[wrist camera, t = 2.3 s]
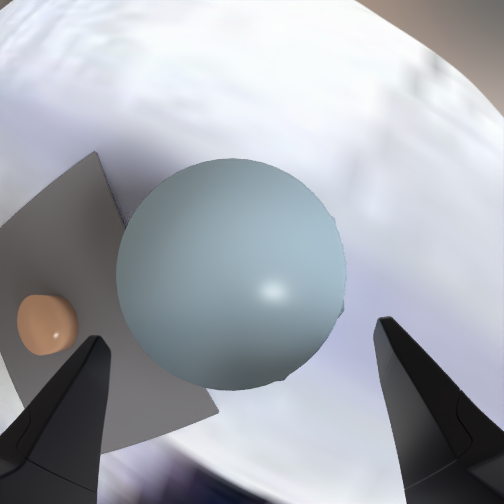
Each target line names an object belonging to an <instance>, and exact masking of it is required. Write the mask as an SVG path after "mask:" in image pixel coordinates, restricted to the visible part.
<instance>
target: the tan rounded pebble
mask: <svg viewBox="0 0 504 504" xmlns="http://www.w3.org/2000/svg"><path fill="white" fill-rule="evenodd" d="M17 326H18V331H19V335H20V338H21V340H22V342H23V343H24V345H25V346H26V348H27V349H28V350H29V351H31V352H32V353H34V354H36V355H46V354H51V353H55V352H60V351H64V350H67V349H69V348H71V347H72V346H73V344H74V343H75V341H76V339H77V336H78V329H79V325H78V318H77V314H76V312H75V310H74V308H73V306H72V305H71V303H70V302H69V301H68V300H67V299H65V298H64V297H61V296H56V295H30V296H28V297H26V298H25V299H24V300H23V302H22V303H21V305H20V307H19V310H18V316H17Z"/></svg>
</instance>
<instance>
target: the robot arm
mask: <svg viewBox="0 0 504 504" xmlns="http://www.w3.org/2000/svg"><path fill="white" fill-rule="evenodd" d="M373 340H374V346H375V352H376V358H377V365H378V371H379V378H380V383H381V387H382V391H383V395H384V399H385V403H386V407H387V411H388V415H389V419H390V423H391V428H392V432H393V436H394V441H395V445H396V450H397V454H398V459H399V464H400V469H401V474H402V479H403V485H404V489H405V490H404V491H405V497H406V502H407V504H504V431H503V430H502V429H500V428H499V427H498V426H497V425H496V424H495V423H494V422H493V421H492V420H490V419H489V418H488V417H487V416H486V415H485V414H484V413H483V412H482V411H481V410H480V409H479V408H478V407H477V406H476V405H475V404H474V403H473V402H472V401H471V400H470V399H469V398H468V397H467V396H466V395H465V393H464V392H463V391H462V390H460V388H459V387H458V386H457V385H456V384H455V383H454V381H453V380H452V379H451V378H450V377H449V376H448V375H447V374H446V373H445V372H444V371H443V370H442V369H441V367H440V366H439V365H438V364H437V363H436V362H435V361H434V360H433V359H432V358H431V357H430V356H429V355H428V354H427V353H426V352H425V351H424V349H423V348H422V347H421V346H420V345H419V344H418V343H417V342H416V341H415V340H414V339H413V338H412V337H411V336H410V335H409V334H408V333H407V332H406V331H405V330H404V329H403V328H402V327H401V326H400V325H399V324H398V323H397V322H396V321H395V320H394V319H393V318H392V317H390V316H387V317H380V318H379V319H378V320H377V323H376V327H375V330H374V334H373ZM110 368H111V350H110V348H109V346H108V345H107V344H106V342H105V341H104V339H103V338H102V337H101V336H100V335H90V336H89V337H87V339H86V340H85V341H84V342H83V343H82V344H81V345H80V346H79V347H78V348H77V349H76V351H75V352H74V353H73V354H72V355H71V356H70V357H69V358H68V359H67V361H66V362H65V363H64V364H63V365H62V366H61V367H60V368H59V370H58V371H57V372H56V373H55V374H54V375H53V376H52V378H51V379H50V380H49V381H48V382H47V383H46V385H45V386H44V387H43V388H42V389H41V390H40V392H39V393H38V394H37V395H36V396H35V397H34V399H33V400H32V401H31V402H30V404H28V406H27V407H26V408H25V409H24V410H23V412H22V413H21V414H20V415H19V416H18V417H17V419H16V420H15V421H14V422H13V423H12V424H11V425H10V426H9V427H8V428H7V429H6V430H5V431H4V432H3V433H2V434H1V435H0V504H97V487H98V474H99V463H100V453H101V445H102V436H103V429H104V421H105V414H106V408H107V401H108V394H109V382H110Z"/></svg>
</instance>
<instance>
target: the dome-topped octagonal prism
mask: <svg viewBox="0 0 504 504" xmlns="http://www.w3.org/2000/svg"><path fill="white" fill-rule="evenodd" d="M116 284H117V293H118V298H119V303H120V307H121V310H122V313H123V316H124V318H125V321H126V323H127V325H128V327H129V329H130V331H131V333H132V335H133V336H134V338H135V339H136V341H137V342H138V344H139V345H140V346H141V348H142V349H143V350H144V351H145V352H146V353H147V354H148V356H149V357H150V358H151V359H152V360H154V361H155V362H156V363H157V364H158V365H159V366H161V367H162V368H163V369H165V370H166V371H168V372H169V373H171V374H172V375H174V376H176V377H178V378H180V379H182V380H184V381H186V382H188V383H191V384H194V385H197V386H201V387H204V388H210V389H216V390H232V391H236V390H245V389H252V388H256V387H260V386H264V385H267V384H270V383H272V382H275V381H283V380H285V379H286V377H287V376H288V375H289V374H291V373H292V372H294V371H295V370H297V369H298V368H299V367H301V366H302V365H303V364H305V363H306V362H307V361H308V360H309V359H310V358H311V357H312V356H313V355H314V354H315V353H316V352H317V351H318V350H319V348H320V347H321V346H322V345H323V343H324V342H325V341H326V339H327V338H328V336H329V334H330V332H331V331H332V329H333V327H334V325H335V323H336V321H337V319H338V318H339V316H340V315H341V314H342V313H343V311H344V295H345V287H346V260H345V254H344V248H343V244H342V241H341V238H340V235H339V232H338V229H337V227H336V223H335V218H333V217H332V216H331V215H330V214H329V212H328V211H327V209H326V208H325V206H324V205H323V203H322V202H321V201H320V200H319V199H318V197H317V196H316V195H315V194H314V193H313V192H312V191H311V190H310V189H309V188H308V187H306V186H305V185H304V184H303V183H302V182H300V181H299V180H298V179H296V178H295V177H293V176H292V175H290V174H288V173H286V172H284V171H282V170H280V169H278V168H276V167H274V166H271V165H268V164H265V163H262V162H257V161H252V160H247V159H233V158H232V159H217V160H212V161H206V162H202V163H199V164H196V165H193V166H190V167H188V168H186V169H183V170H181V171H179V172H177V173H175V174H174V175H172V176H171V177H169V178H167V179H166V180H164V181H163V182H162V183H161V184H159V185H158V186H157V187H156V188H155V189H153V190H152V191H151V192H150V194H149V195H148V196H147V197H146V198H145V199H144V200H143V201H142V203H141V204H140V205H139V207H138V208H137V209H136V211H135V212H134V214H133V216H132V217H131V219H130V221H129V223H128V225H127V227H126V230H125V232H124V235H123V237H122V240H121V244H120V248H119V251H118V258H117V265H116Z"/></svg>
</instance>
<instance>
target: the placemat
mask: <svg viewBox="0 0 504 504" xmlns="http://www.w3.org/2000/svg"><path fill="white" fill-rule="evenodd" d="M125 230H126V228H125V225H124V223H123V220H122V218H121V215H120V213H119V210H118V208H117V205H116V203H115V200H114V198H113V195H112V192H111V190H110V187H109V184H108V182H107V179H106V176H105V174H104V171H103V168H102V165H101V162H100V160H99V157H98V154H97V152H95V151H94V152H93V153H91V154H90V155H89V156H87V157H86V158H84V159H83V160H82V161H80V162H79V163H77V164H76V165H75V166H73V167H72V168H71V169H69V170H68V171H67V172H65V173H64V174H63V175H62V176H60V177H59V178H58V179H56V180H55V181H54V182H53V183H51V184H50V185H49V186H48V187H46V188H45V189H44V190H43V191H42V192H40V193H39V194H38V195H37V196H36V197H34V198H33V199H32V200H31V201H30V202H29V203H27V204H26V205H25V206H24V207H23V208H22V209H21V210H19V211H18V212H17V213H16V214H15V215H14V216H13V217H12V218H11V219H10V220H8V221H7V222H6V223H5V224H4V225H3V226H2V227H1V228H0V352H1V355H2V357H3V360H4V363H5V365H6V368H7V370H8V373H9V375H10V377H11V380H12V382H13V384H14V387H15V389H16V391H17V393H18V395H19V398H20V400H21V402H22V404H23V406H24V408H26V407H27V406H28V404H30V402H31V401H32V400H33V399H34V397H35V396H36V395H37V394H38V393H39V392H40V390H41V389H42V388H43V387H44V386H45V385H46V383H47V382H48V381H49V380H50V379H51V378H52V376H53V375H54V374H55V373H56V372H57V371H58V370H59V368H60V367H61V366H62V365H63V364H64V363H65V362H66V361H67V359H68V358H69V357H70V356H71V355H72V354H73V353H74V352H75V351H76V349H77V348H78V347H79V346H80V345H81V344H82V343H83V342H84V341H85V340H86V339H87V337H89V336H90V335H100V336H101V337H102V338H103V339H104V341H105V342H106V344H107V345H108V346H109V348H110V350H111V368H110V382H109V394H108V401H107V408H106V414H105V421H104V429H103V436H102V445H101V453H100V455H101V454H104V453H108V452H111V451H115V450H118V449H122V448H125V447H128V446H131V445H134V444H137V443H141V442H144V441H147V440H150V439H152V438H155V437H158V436H161V435H164V434H167V433H169V432H172V431H175V430H178V429H180V428H183V427H186V426H188V425H191V424H193V423H196V422H198V421H201V420H203V419H206V418H208V417H211V416H213V415H215V414H218V413H219V410H218V408H217V407H216V405H215V403H214V402H213V400H212V398H211V397H210V395H209V393H208V392H207V390H206V388H204V387H201V386H197V385H194V384H191V383H188V382H186V381H184V380H182V379H180V378H178V377H176V376H174V375H172V374H171V373H169V372H168V371H166V370H165V369H163V368H162V367H161V366H159V365H158V364H157V363H156V362H155V361H154V360H152V359H151V358H150V357H149V356H148V354H147V353H146V352H145V351H144V350H143V349H142V348H141V346H140V345H139V344H138V342H137V341H136V339H135V338H134V336H133V335H132V333H131V331H130V329H129V327H128V325H127V323H126V321H125V318H124V316H123V313H122V310H121V307H120V303H119V298H118V293H117V284H116V265H117V258H118V251H119V248H120V244H121V240H122V237H123V235H124V232H125ZM30 295H56V296H61V297H64V298H65V299H67V300H68V301H69V302H70V303H71V305H72V306H73V308H74V310H75V312H76V314H77V318H78V325H79V329H78V336H77V339H76V341H75V343H74V344H73V346H72V347H71V348H69V349H67V350H64V351H60V352H55V353H51V354H46V355H36V354H34V353H32V352H31V351H29V350H28V349H27V348H26V346H25V345H24V343H23V342H22V340H21V338H20V335H19V331H18V326H17V316H18V310H19V307H20V305H21V303H22V302H23V300H24V299H25V298H26V297H28V296H30Z"/></svg>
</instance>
